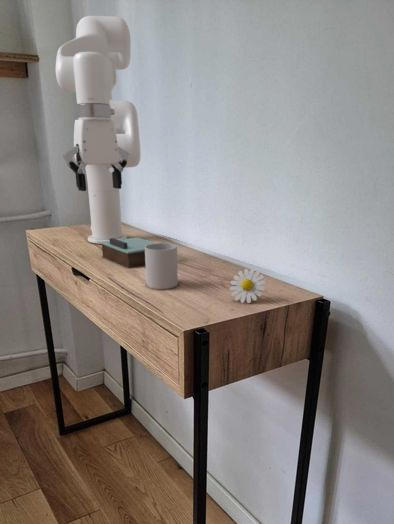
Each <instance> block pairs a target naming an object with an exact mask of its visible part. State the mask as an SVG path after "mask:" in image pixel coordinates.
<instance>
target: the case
mask: <svg viewBox="0 0 394 524" xmlns="http://www.w3.org/2000/svg"><path fill="white" fill-rule="evenodd" d="M101 250H102V258H103V259H106V260H108V261H111V262H114V263H116V264H118V265H120V266H123V267H126V268H128V269H131V268H137V267H141V266H142V267H143V266H146V264H145V251H142V252H136V253H130V254H127V253H125V252H122V251H119V250H116V249H114V248H111V247H108V246H106V245H103V244H101Z"/></svg>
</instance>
